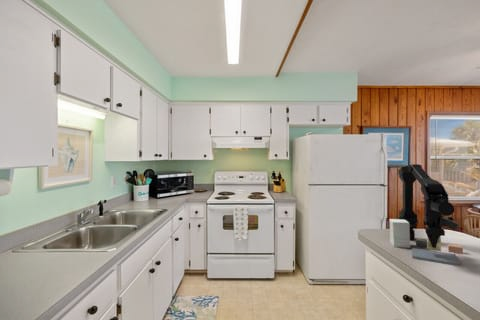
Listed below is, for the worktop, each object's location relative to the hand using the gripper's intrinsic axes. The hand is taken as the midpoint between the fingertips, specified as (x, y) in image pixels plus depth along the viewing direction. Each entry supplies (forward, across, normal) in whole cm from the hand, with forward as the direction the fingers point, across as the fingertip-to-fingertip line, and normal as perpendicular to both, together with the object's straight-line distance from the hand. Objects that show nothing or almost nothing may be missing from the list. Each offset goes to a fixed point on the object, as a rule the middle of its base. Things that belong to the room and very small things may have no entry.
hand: (433, 245), depth 111 cm
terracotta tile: (+5, +13, -9) cm, 17 cm away
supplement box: (+5, +11, +13) cm, 18 cm away
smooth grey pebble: (+5, +15, +4) cm, 16 cm away
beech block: (+1, 0, 0) cm, 1 cm away
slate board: (+5, 0, 0) cm, 5 cm away
